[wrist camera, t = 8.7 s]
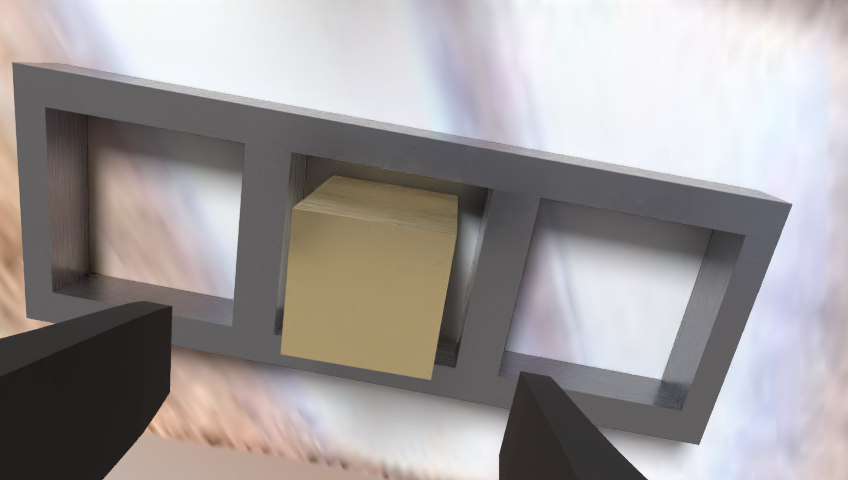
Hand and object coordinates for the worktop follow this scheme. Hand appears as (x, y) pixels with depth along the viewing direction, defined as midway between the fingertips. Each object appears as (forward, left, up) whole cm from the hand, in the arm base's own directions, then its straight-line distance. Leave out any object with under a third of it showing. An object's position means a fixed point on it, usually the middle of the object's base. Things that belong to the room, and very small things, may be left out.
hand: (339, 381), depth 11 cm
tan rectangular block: (0, 0, -10) cm, 10 cm away
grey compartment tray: (0, 0, -9) cm, 9 cm away
